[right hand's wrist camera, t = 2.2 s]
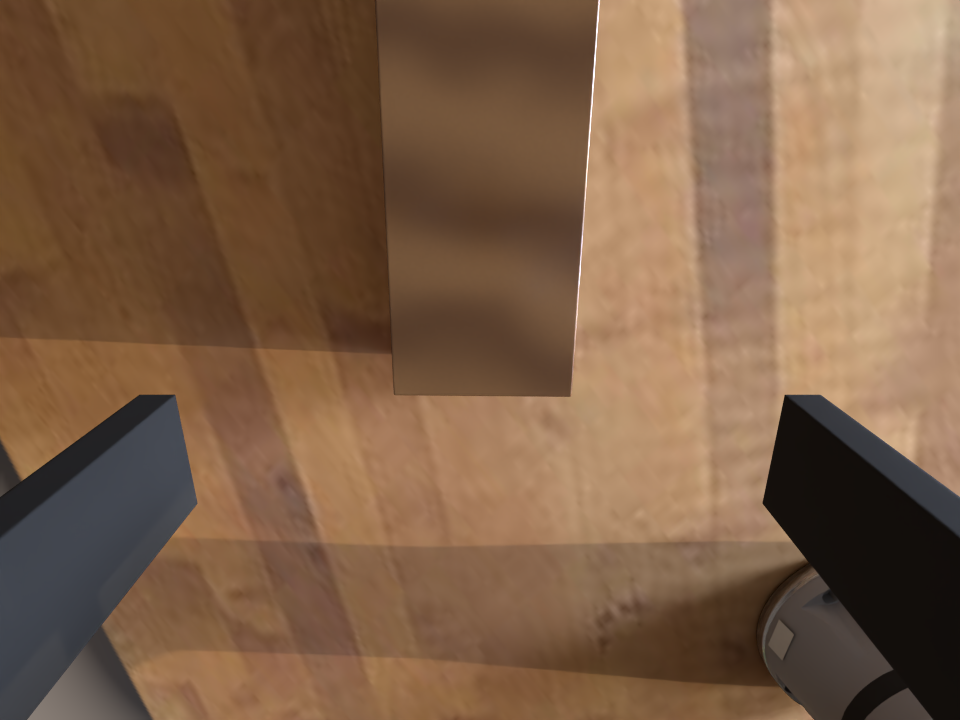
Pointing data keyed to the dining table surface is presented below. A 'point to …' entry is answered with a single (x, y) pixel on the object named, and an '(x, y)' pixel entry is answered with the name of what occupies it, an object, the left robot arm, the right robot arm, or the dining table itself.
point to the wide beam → (485, 190)
